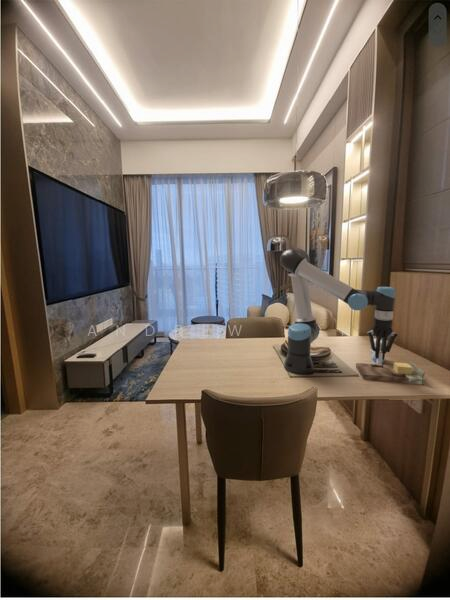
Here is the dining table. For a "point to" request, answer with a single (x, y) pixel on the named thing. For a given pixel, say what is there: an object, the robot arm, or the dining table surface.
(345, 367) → the dining table surface
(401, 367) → the ochre block
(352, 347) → the dining table surface
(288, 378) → the dining table surface
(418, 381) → the board
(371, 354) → the ink box
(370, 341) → the robot arm
